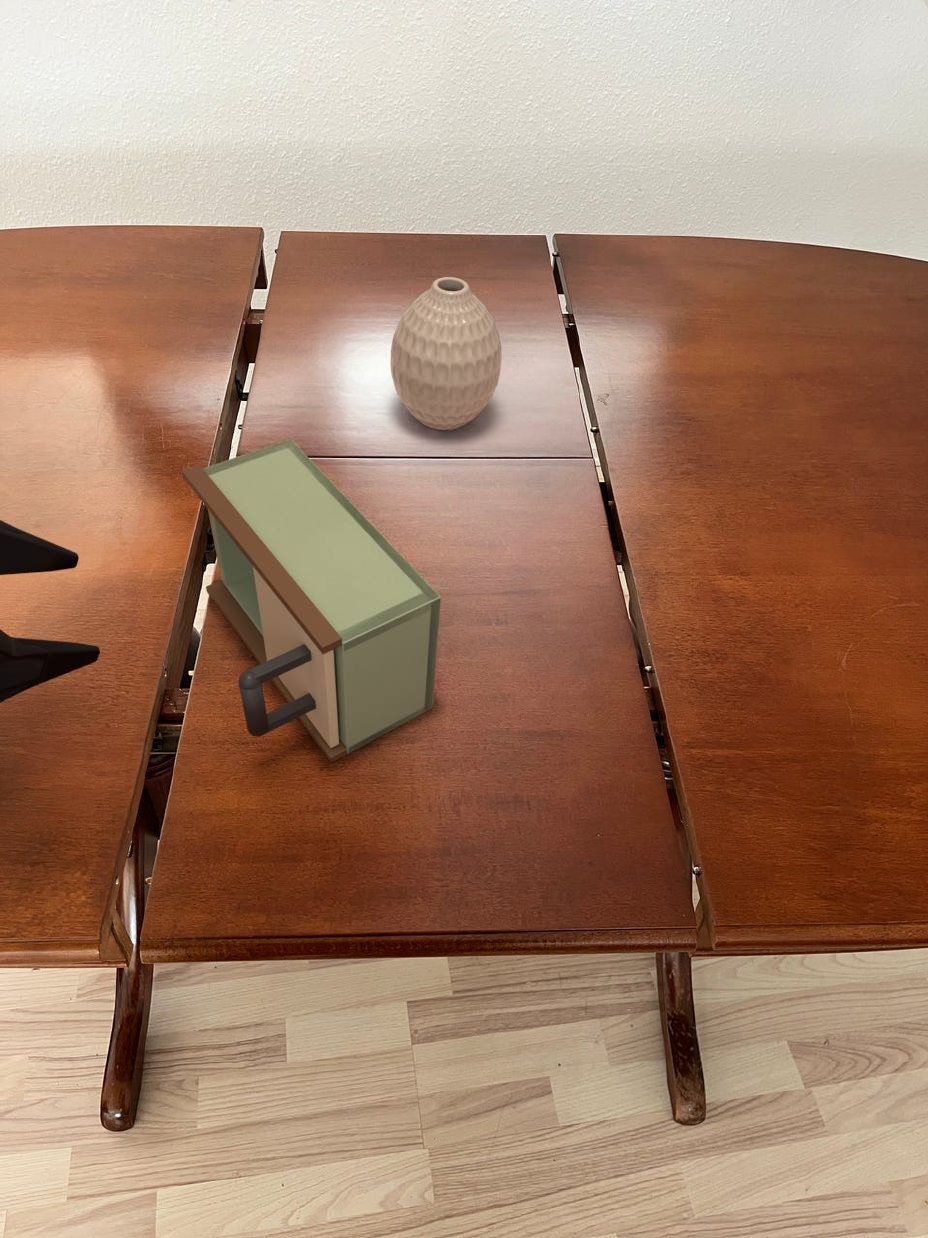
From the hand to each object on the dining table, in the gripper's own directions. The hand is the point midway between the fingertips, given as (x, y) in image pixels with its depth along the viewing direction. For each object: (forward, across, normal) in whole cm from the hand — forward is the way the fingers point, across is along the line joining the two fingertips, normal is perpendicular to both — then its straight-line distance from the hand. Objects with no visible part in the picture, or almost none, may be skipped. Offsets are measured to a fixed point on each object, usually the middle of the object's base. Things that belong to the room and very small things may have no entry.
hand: (87, 605), depth 58 cm
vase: (+46, +35, -3) cm, 58 cm away
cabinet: (+23, +5, +8) cm, 24 cm away
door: (+16, -2, +9) cm, 19 cm away
